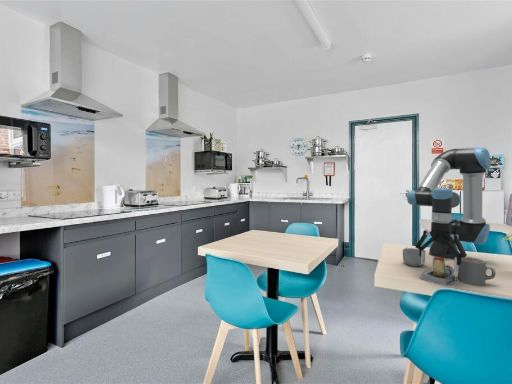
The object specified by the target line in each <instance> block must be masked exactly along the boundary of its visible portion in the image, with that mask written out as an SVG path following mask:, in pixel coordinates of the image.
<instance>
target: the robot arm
mask: <svg viewBox="0 0 512 384" xmlns="http://www.w3.org/2000/svg"><path fill="white" fill-rule="evenodd" d="M490 168H491V156H490V152H489V150H488V148H486V147H476V146H475V147H465V148H463V147H462V148H451V149H447V150H445V151H443V152H441V153H440V154H438V155H437V156H436V157H435V158H434V159H433V161H432V162H431V164H430V169H429V170H428V171H427V173H426V174H425V176H424V178H423V179H422V181H421V182H420V183H419V186H418V187H417V188H416V190H414V189H413V190H409V191H408V193H407V195H406V200H407V204H409V205H413V206H421V207H431V221H432V222H430V230H428V229H425V230H422V235H421V237H420V238H419V240H418V242H417V243H416V245H415V246H414V247H415V249H419V256H420V257H421V264H422V265H425V264H426V253H427V252H426V250H425V249H427V247H428V246H429V245H430V247H429V250H428V255H430V256H433V257H434V256H440V257H444V258H445V259H446V260H447V259H450V260H453V261H454V262H453V269H454V274H455V273H458V266H459V265H461V258H464V257H468V254H467V252H466V251H465V248H464V246H463V244H462V242H465V243H471V244H474V245H475V244H479V245H484V244H485V243H486V242H487V240H488V237H489V233H490V230H491V229H490V228H491V226H490V224H489V223H487V220H486V219H485V218H484V217H483V176H484V174H486V173H487V170H489V169H490ZM451 170H459V174H460V175H462V196H461V195H460V194H459V193H458V192H455V191H453V189H452V188H448V187H446V188H445V187H438V186H439V184H440V183H441V181H442V179H444V178H443V177H444V176H445V175H446V174H447V173H448V172H449V171H451ZM461 203H462V217H461V218H460V219H459V220H458V218H457V217H452V210H453V209H454V208H456V207H458V206H459V205H460V204H461ZM428 236H430V238H429V239H428V240H427V241H426V242H425V240H426V239H427V237H428ZM424 242H425V243H424ZM422 265H421V266H422Z"/></svg>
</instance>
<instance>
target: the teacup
mask: <svg viewBox="0 0 512 384" xmlns="http://www.w3.org/2000/svg"><path fill="white" fill-rule="evenodd" d="M402 260H403V262H404V263H405V264H406V265H408V266H411V267H421V266H422V264H421V257H420V256H419V249H418V248H416V247H415V248H414V247H412V248H411V247H404V248H403V249H402Z"/></svg>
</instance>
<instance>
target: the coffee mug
mask: <svg viewBox="0 0 512 384" xmlns="http://www.w3.org/2000/svg"><path fill="white" fill-rule="evenodd" d="M488 270H491V274H490V275H487V271H488ZM496 275H497V271H496V269H495V267H493V266H490V265H487V261H485V260H484V259H481V258H477V257H470V256H469V257H468V256H466V257H464V258H461V265H459V266H458V272H457V277H456V280H457V281H458V282H461V283H463V284H465V285H466V284H467V285H470V286H477V287H478V286H479V287H480V286H485V284H486V283H485V282H486V281H488V280H493V279H495V277H496Z"/></svg>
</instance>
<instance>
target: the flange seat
mask: <svg viewBox="0 0 512 384" xmlns="http://www.w3.org/2000/svg"><path fill="white" fill-rule="evenodd" d="M432 271H433V269H431V270H428V271H426V272H423V273H422V274H421V277H420V279H419V280H423V281H427V282H430V283H434V284H437V285H440V284H442V285H441V286H444V285H445V286H444V287H449V286H450V285H452V284H454V283H455V282H456V283H457V281H458V279H456V275H454V274H455V272H454V267H452V266H451V265H446V264H445V277H446V278H445V279H443V278H439V277H435V276H431V275H432Z"/></svg>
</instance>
